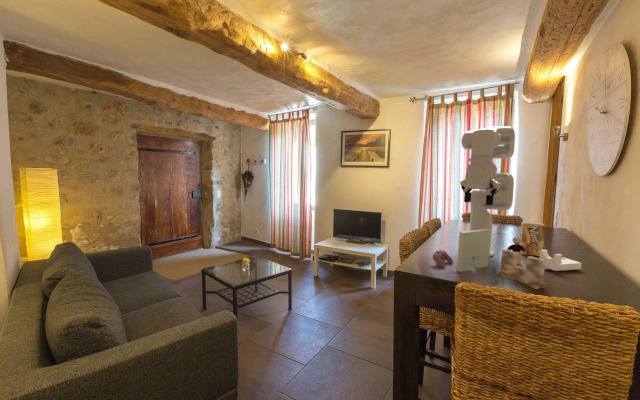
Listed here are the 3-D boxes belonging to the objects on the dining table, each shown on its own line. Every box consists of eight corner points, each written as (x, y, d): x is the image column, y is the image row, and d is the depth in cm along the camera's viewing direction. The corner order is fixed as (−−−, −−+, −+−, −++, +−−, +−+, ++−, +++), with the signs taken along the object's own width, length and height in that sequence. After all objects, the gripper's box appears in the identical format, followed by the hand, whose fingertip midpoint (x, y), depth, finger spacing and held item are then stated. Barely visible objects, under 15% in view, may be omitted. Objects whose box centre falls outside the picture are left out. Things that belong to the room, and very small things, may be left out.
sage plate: (456, 270, 117) (459, 231, 115) (483, 265, 124) (486, 228, 122) (460, 271, 115) (463, 233, 114) (487, 266, 122) (491, 229, 120)
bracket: (554, 273, 116) (556, 255, 115) (538, 267, 123) (540, 249, 122) (580, 271, 119) (582, 253, 118) (563, 265, 126) (565, 248, 125)
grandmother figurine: (521, 263, 126) (523, 235, 125) (526, 266, 122) (529, 237, 121) (502, 263, 127) (505, 235, 125) (507, 266, 123) (510, 237, 121)
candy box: (539, 254, 140) (542, 223, 139) (542, 256, 137) (545, 225, 135) (518, 252, 144) (521, 221, 142) (520, 254, 140) (523, 223, 138)
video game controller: (444, 264, 128) (438, 249, 130) (454, 262, 125) (448, 247, 127) (435, 270, 122) (429, 254, 123) (445, 267, 118) (438, 251, 120)
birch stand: (497, 275, 112) (499, 250, 111) (505, 273, 114) (508, 248, 113) (536, 289, 100) (539, 261, 99) (544, 287, 102) (547, 259, 101)
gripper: (456, 160, 120) (453, 201, 122) (495, 160, 105) (491, 206, 107) (468, 161, 124) (465, 200, 126) (509, 160, 108) (505, 206, 110)
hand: (477, 203), depth 116 cm, fingers open, 9 cm apart
